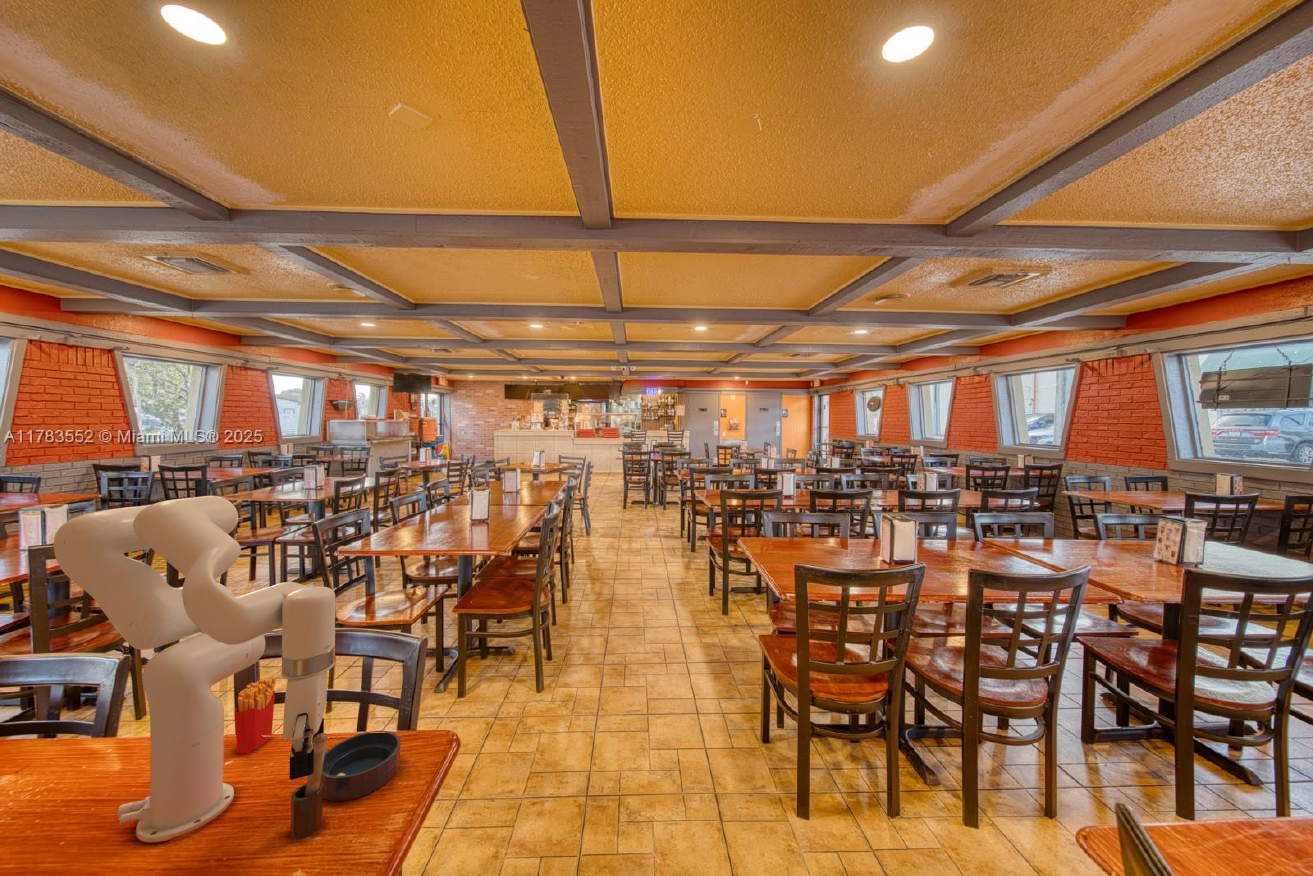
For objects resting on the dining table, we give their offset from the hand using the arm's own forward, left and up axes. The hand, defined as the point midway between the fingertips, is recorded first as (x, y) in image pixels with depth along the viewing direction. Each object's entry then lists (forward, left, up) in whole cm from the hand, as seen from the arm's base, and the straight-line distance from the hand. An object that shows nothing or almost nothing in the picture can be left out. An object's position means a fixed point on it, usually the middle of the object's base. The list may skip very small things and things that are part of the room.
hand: (307, 758), depth 82 cm
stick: (0, 0, -12) cm, 12 cm away
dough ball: (+4, +9, -11) cm, 15 cm away
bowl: (+7, +11, -13) cm, 18 cm away
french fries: (-15, +34, -13) cm, 39 cm away
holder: (0, 0, -13) cm, 13 cm away
